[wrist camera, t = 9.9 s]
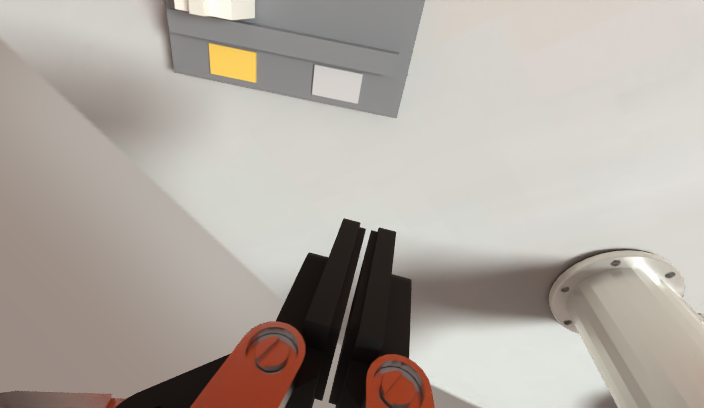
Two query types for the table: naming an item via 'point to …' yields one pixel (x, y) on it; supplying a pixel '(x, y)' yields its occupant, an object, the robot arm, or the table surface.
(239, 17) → the switch tab
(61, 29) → the table surface
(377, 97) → the switch panel
